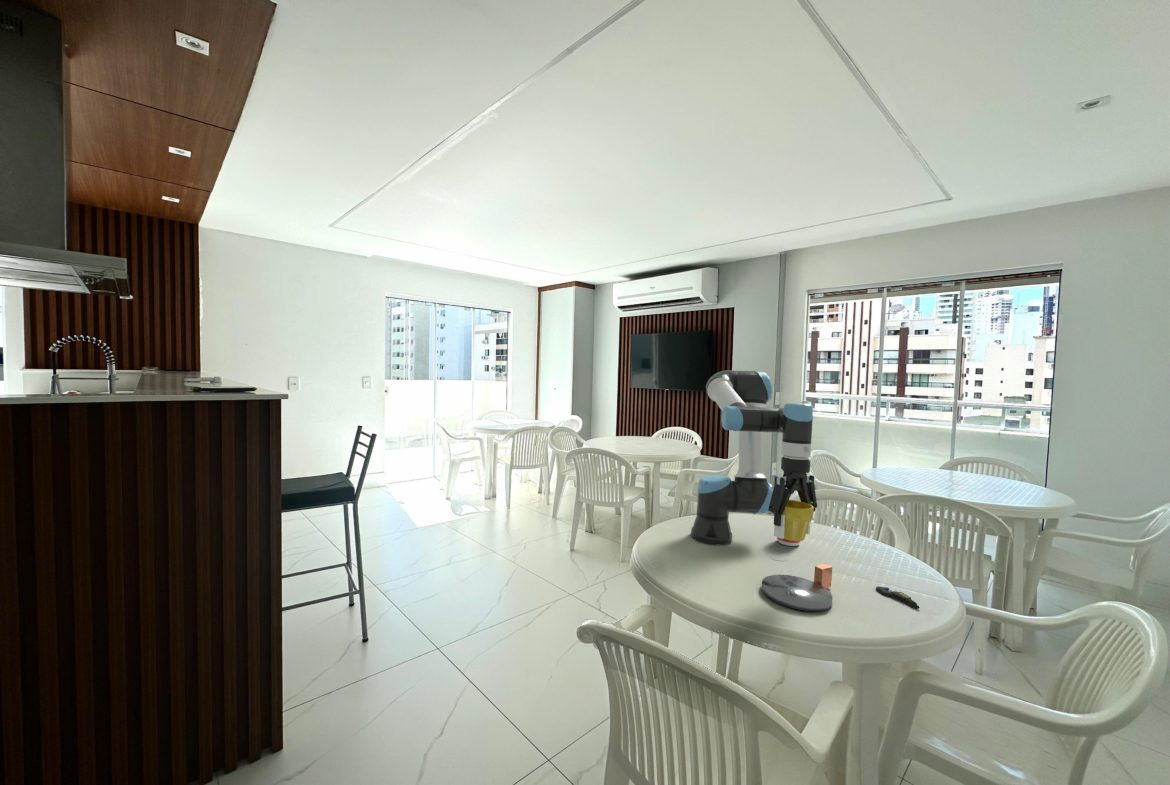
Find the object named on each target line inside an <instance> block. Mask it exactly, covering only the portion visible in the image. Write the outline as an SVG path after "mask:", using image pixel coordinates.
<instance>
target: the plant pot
mask: <svg viewBox="0 0 1170 785" xmlns="http://www.w3.org/2000/svg"><path fill="white" fill-rule="evenodd" d="M779 510H780V509H779ZM813 511H814V507H813V506H812V505H811V504H807V503H804V502H801V500H797V499H796V500H795V499H790V498H789V501H788V503H787V505H786V507H785V510H784V512H783V515H785V524H784V539H786V540H790V541H800V542H803V541H804V540H805V538H806V535H807V534H806V532H807V528H808V525H809V522H810V520H811V521H812V520H813V519H814V512H813ZM810 523H811V522H810Z"/></svg>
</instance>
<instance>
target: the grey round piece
mask: <svg viewBox="0 0 1170 785" xmlns="http://www.w3.org/2000/svg"><path fill="white" fill-rule="evenodd" d="M832 575H833V566H832V565H828V564H826V563H821V564H818V565H814V576H813V580H810V579H807V578H805V577H804V578H803V577H799V576H795V575H789V574H771V575H768V576H765V577H763V579H762V581H761V591H762V593H763V594H764V595H765V596H766V597H767V598H769V599H771V601H774V602H776V603H777V604H780V605H782V606H785V607H788V608H792V609H794V610H799V611H800V610H801V611H807V612H821V611H826V610H828V609H830V608H832V606H833V594H832V593H831V592H830V590H828V589H829V588H831V587H832V582H833V581H832V579H833V578H832V577H833V576H832Z"/></svg>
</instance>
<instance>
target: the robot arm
mask: <svg viewBox="0 0 1170 785" xmlns="http://www.w3.org/2000/svg"><path fill="white" fill-rule="evenodd" d="M705 390H706V394H707V396H708V397H709V399H710V400H711V401H712V402H716V403H715V404H716V405H717V406H718V407H719V409H720V410H721V417H720V418H721V419H720V420H721V427H722V428H723V429H724V430H725V431H733V432H738V472H737V473H736V474H735V475H734V480H731V478H730V476H726V475H719V474H716V475H715V474H714V475H707V476H703V477H701V478H700V479H699V480H698V485H697V499H696V501H697V504H696V516H695V519H694V522H693V525H692V527H691V529H690V537H691V538H692V539H693V540H695V541H697V542H699V543H701V544H705V545H711V546H727V545H730V544H731V543H732V542H733V533H732V529H731V525H730V524H731V523H730V521H729V516H730V515H729V513H739V514H753V515H758V514H761V515H762V514H766V513H768V512H771V513H773V525H774V526H773V527H774V528H773V536H774V537H776V538H777V537H779V538H781V539H784V524H785V515H783V512H784V510H785V507H786V505H787V503H788V501H789V499H790V498H791V496H792V495H793V494H794V493H795V492H797V494H798V495H797V496H798V497H799V499H800V500H799V501H801V502H804V503H807V504H811V505H812V506H813V507H814V511H813V513H815V512H816V509H817V508H818V501H817V494H816V488H815V476H814V475H813V474H812V475H811V474H808V473H810V472H811V460H810V457H811V451H812V437H813V436H812V433H813V419H814V415H813V412H814V411H813V406H812V405H811V404H809V403H802V402H801V403H800V402H798V403H797V402H796V403H794V402H786V403H784V406H783V407H767V403H768V402H770V401H771V400H772V397H773V396H772V394H773V385H772V381H771V378H770V376H769V375H768V374H767V373H766V372H764V371H756V370H721V371H718V372H716V373H715V374H713V375H712V376H710V378H709V379H708V381H707V382H706V384H705ZM763 433H773V434H774V433H775V434H777V433H778V434H782V436H781V437H782V439H781V455H782V457H781V458H780V459H781V461H780V469H781V470H782V471H783V473H782V476H774V486H773V485H772V484H771V483H770V482H769V481H768V477H767V476H766V475H765V474H764V473H763V472H764V471H763V468H764V467H763V466H764V465H763V461H764V460H763V459H764V458H763V457H764V456H763ZM779 509H780V510H779ZM811 521H812V519H811V520H810V522H809V525H808V528H807V532H806V535H810V534H811Z"/></svg>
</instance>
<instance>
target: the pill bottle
mask: <svg viewBox="0 0 1170 785" xmlns="http://www.w3.org/2000/svg"><path fill="white" fill-rule="evenodd" d="M776 541H777V542H778V543H779V544H781V545H783V546H788V547H797V546H799V545H800V544H801V541H790V540H786V539H781V538H779V537H776Z"/></svg>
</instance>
